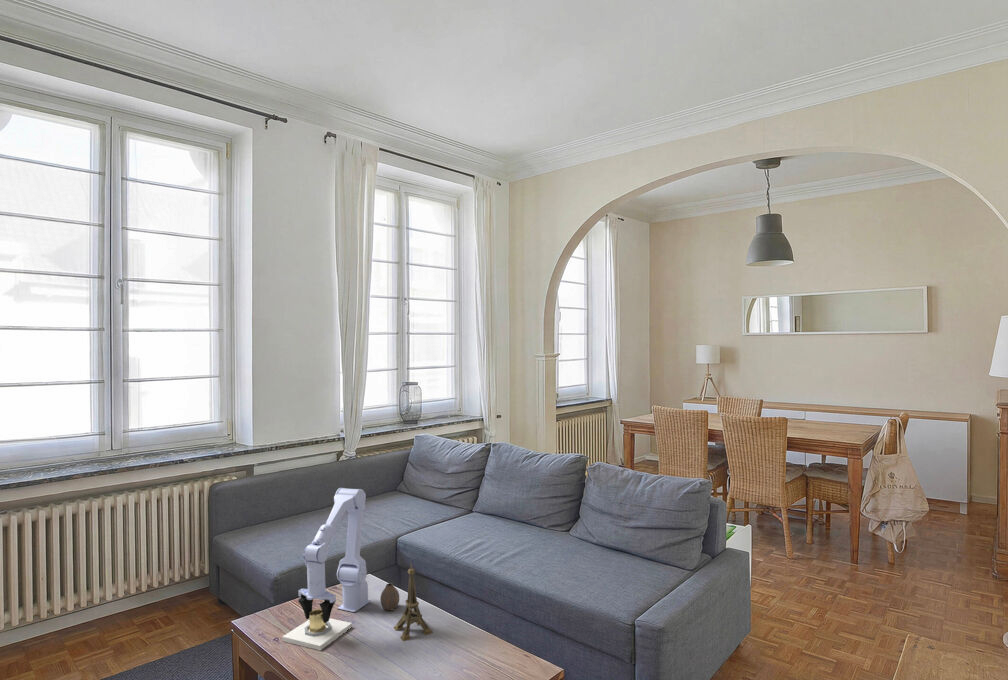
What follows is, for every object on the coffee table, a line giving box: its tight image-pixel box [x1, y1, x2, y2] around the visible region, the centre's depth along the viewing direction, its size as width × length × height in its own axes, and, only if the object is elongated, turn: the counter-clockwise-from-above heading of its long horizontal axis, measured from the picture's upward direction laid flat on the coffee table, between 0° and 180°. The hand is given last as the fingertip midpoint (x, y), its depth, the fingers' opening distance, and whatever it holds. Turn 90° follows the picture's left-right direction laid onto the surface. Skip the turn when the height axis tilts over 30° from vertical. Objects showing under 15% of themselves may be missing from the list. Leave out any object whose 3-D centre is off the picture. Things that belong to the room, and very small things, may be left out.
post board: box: [281, 617, 353, 651], centre depth 201 cm, size 16×16×6 cm
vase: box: [380, 582, 400, 611], centre depth 219 cm, size 7×7×9 cm
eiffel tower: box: [393, 563, 434, 642], centre depth 202 cm, size 11×11×25 cm
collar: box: [308, 608, 326, 633], centre depth 201 cm, size 5×5×6 cm
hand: (317, 619), depth 201 cm, fingers open, 7 cm apart
